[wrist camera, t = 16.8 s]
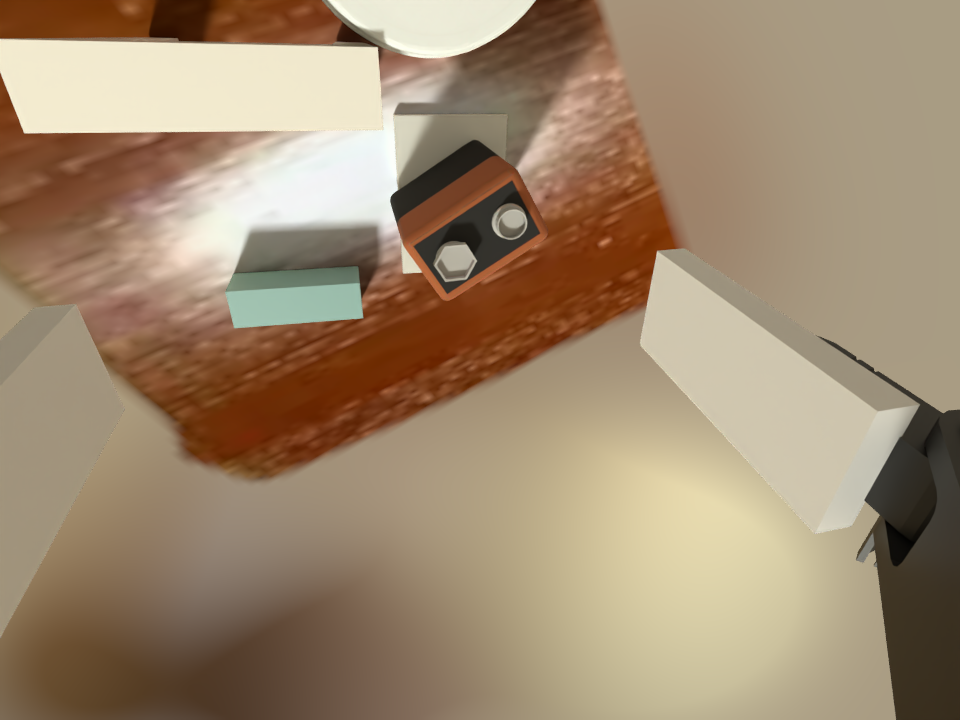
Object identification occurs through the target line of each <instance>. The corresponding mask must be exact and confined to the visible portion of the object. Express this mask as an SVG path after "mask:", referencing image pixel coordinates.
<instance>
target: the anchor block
mask: <svg viewBox="0 0 960 720" xmlns="http://www.w3.org/2000/svg"><path fill="white" fill-rule="evenodd" d="M226 296H227V300H228V304H229V308H230V312H231V316H232V320H233V324H234V328H243V327H256V326H269V325H281V324H294V323H307V322H320V321H333V320H346V319H358V318H363V311H362V298H361V289H360V279H359V269H358V266H351V267H334V268H317V269H300V270H283V271H266V272H249V273H234V274H233V276H232V278H231V281H230V283H229V285H228V287H227V289H226Z"/></svg>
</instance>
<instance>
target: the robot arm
mask: <svg viewBox="0 0 960 720" xmlns="http://www.w3.org/2000/svg"><path fill="white" fill-rule="evenodd" d="M640 346H641V347H642V348H643V349H644V350H645V351H646V352H647V353H648V354H649V355H650V356H651V358H653V360H654V361H655V362H656V363H657V364H658V365H659V366H660V367H661V368H662V369H663V370H664V372H665V373H666V374H667V375H668V376H669V377H670V378H671V379H672V380H673V381H674V382H675V383H676V384H677V385H678V387H679V388H680V389H681V390H682V391H683V392H684V393H685V394H686V395H687V396H688V398H689V399H691V401H692V402H693V403H694V404H695V405H696V406H697V407H698V408H699V409H700V410H701V412H702V413H703V414H704V415H705V416H706V417H707V418H708V419H709V420H710V421H711V422H712V423H713V425H714V426H715V427H716V428H717V429H718V430H719V431H720V432H721V433H722V434H723V435H724V436H725V438H726V439H727V440H728V441H729V442H730V443H731V444H732V445H733V446H734V447H735V448H736V449H737V451H739V453H740V454H741V455H742V456H743V457H744V458H745V459H746V460H747V461H748V462H749V463H750V465H751V466H752V467H753V468H754V469H755V470H756V471H757V472H758V473H759V474H760V475H761V476H762V478H763V479H764V480H765V481H766V482H767V483H768V484H769V485H770V486H771V487H772V488H773V489H774V491H775V492H776V493H777V494H778V495H779V496H780V497H781V498H782V499H783V500H784V501H785V502H786V503H787V505H788V506H789V507H790V508H791V509H792V510H793V511H794V512H795V513H796V514H797V515H798V516H799V518H801V520H802V521H803V522H804V523H805V524H806V525H807V526H808V527H809V528H810V529H811V531H812V532H813V533H814V534H817V533H821V532H826V531H831V530H835V529H840V528H845V527H850V526H852V524H853V522H854V520H855V519H856V517H857V515H858V513H859V512H860V509H861V508H862V506H863V504H864V503H865V501H866V502H867V503H868V504H869V505H870V506H871V507H872V508H873V509H875V511H876V512H878V513H879V514H880V516H879V518H878V519H877V521H876V523H875V524H874V526H873V528H872V529H871V531H870V533H869V534H868V536H867V538H866V540H865V541H864V543H863V544H862V546H861V548H860V549H859V551H858V554H857V558H856V560H857V561H860V562H864V561H865V559H866V557H867V556H868V554H869V553H870V552H872V551H874V550H875V553H876V562H875V564H874V566H875V567H877V569H878V577H879V585H880V593H881V601H882V609H883V617H884V624H885V633H886V641H887V649H888V657H889V665H890V673H891V681H892V689H893V697H894V705H895V712H896V720H960V410H951V411H950V410H949V411H947V412H945V413H941V412H940V411H938V410H937V409H935V408H934V407H932V406H931V405H929V404H928V403H926V402H924V401H923V400H922V399H920V398H918V397H917V396H915V395H914V394H912V393H911V392H909V391H908V390H906V389H904V388H903V387H902V386H900V385H898V384H897V383H895V382H894V381H892V380H891V379H889V378H888V377H886V376H885V375H883V374H882V373H880V372H875V371H874V368H873V367H871V366H869V365H868V364H866V363H865V362H863V361H862V360H857V359H856V356H854V355H853V354H851V353H850V352H848V351H846V350H845V349H843V348H842V347H840V346H839V345H837V344H835V343H834V342H831V341H829V340H826V339H824V338H822V337H819V336H817V335H814V334H813V333H812V332H810V331H808V330H807V329H805V328H804V327H802V326H801V325H799V324H798V323H796V322H795V321H793V320H792V319H790V318H789V317H787V316H786V315H784V314H783V313H781V312H780V311H778V310H777V309H775V308H774V307H772V306H771V305H769V304H768V303H766V302H765V301H763V300H762V299H760V298H759V297H757V296H756V295H754V294H753V293H751V292H750V291H748V290H747V289H745V288H744V287H742V286H741V285H739V284H738V283H736V282H735V281H733V280H732V279H730V278H729V277H727V276H726V275H724V274H723V273H721V272H720V271H718V270H717V269H715V268H714V267H712V266H710V265H709V264H707V263H706V262H704V261H703V260H701V259H700V258H698V257H697V256H695V255H694V254H692V253H691V252H689V251H688V250H686V249H674V250H663V251H657V256H656V261H655V266H654V271H653V277H652V282H651V287H650V293H649V298H648V303H647V308H646V314H645V320H644V324H643V330H642V335H641V340H640ZM124 410H125V409H124V407H123V405H122V402H121V400H120V398H119V396H118V394H117V391H116V389H115V387H114V385H113V383H112V381H111V379H110V376H109V374H108V372H107V370H106V368H105V366H104V363H103V361H102V359H101V357H100V355H99V353H98V351H97V348H96V346H95V344H94V342H93V340H92V338H91V336H90V333H89V331H88V329H87V327H86V325H85V323H84V320H83V318H82V316H81V314H80V312H79V310H78V308H77V305H76V304H70V305H59V306H48V307H37V308H33V309H32V310H31V311H30V312H29V313H28V314H27V315H26V316H25V317H24V318H23V319H22V320H20V321H19V322H18V323H17V324H16V325H15V326H14V327H13V328H12V329H11V330H10V331H9V332H8V333H7V334H6V335H5V336H4V337H3V338H2V339H1V340H0V637H1V635H2V634H3V632H4V630H5V628H6V626H7V624H8V623H9V621H10V619H11V617H12V615H13V613H14V612H15V610H16V608H17V606H18V604H19V602H20V601H21V599H22V597H23V595H24V593H25V591H26V590H27V588H28V586H29V584H30V582H31V580H32V579H33V577H34V575H35V573H36V571H37V569H38V568H39V566H40V564H41V562H42V560H43V558H44V557H45V555H46V553H47V551H48V549H49V547H50V546H51V544H52V542H53V540H54V538H55V537H56V535H57V533H58V531H59V529H60V527H61V525H62V524H63V522H64V520H65V518H66V516H67V514H68V513H69V511H70V509H71V507H72V505H73V503H74V502H75V500H76V498H77V496H78V494H79V493H80V491H81V489H82V487H83V485H84V483H85V482H86V480H87V478H88V476H89V474H90V472H91V470H92V468H93V467H94V465H95V463H96V461H97V460H98V458H99V456H100V454H101V452H102V450H103V449H104V446H105V445H106V443H107V441H108V439H109V438H110V436H111V434H112V432H113V430H114V428H115V427H116V425H117V423H118V421H119V419H120V417H121V416H122V414H123V412H124Z"/></svg>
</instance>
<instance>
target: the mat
mask: <svg viewBox="0 0 960 720" xmlns="http://www.w3.org/2000/svg"><path fill="white" fill-rule="evenodd" d="M393 115H394V132H395V149H396V167H397V184H398V190H399V189H401V188H402V187H404V186H405V185H407V184H408V183H410V182H411V181H412V180H414V179H415V178H417V177H418V176H420V175H421V174H423V173H424V172H426V171H427V170H429V169H430V168H432V167H433V166H434V165H436V164H437V163H439V162H440V161H442V160H443V159H445V158H446V157H448V156H449V155H451V154H452V153H453V152H455V151H456V150H458V149H459V148H461V147H462V146H464V145H465V144H467V143H468V142H470V141H472V140H478V141H480V142H481V143H483V144H484V145H485V146H487V147H488V148H489V149H491V150H492V151H493V152H494V153H496V154H497V155H498V156H500V157H501V158H502V159H504V160H505V161H506V145H507V123H508V115H506V114H393ZM401 254H402V270H403V273H419V272H422V271H421V270H420V268H419V267H418V266H417V264H416V263H415V261H414V260H413V259H412V257H411V256H410V255H409V253H408V252H407V250H406V249H405V247H404V246H403V243H402V240H401Z"/></svg>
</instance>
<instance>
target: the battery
mask: <svg viewBox="0 0 960 720" xmlns="http://www.w3.org/2000/svg"><path fill="white" fill-rule="evenodd" d="M390 202H391V206H392V209H393V213H394V216H395V219H396V223H397V226H398V230H399V233H400V236H401V240H402V243H403V246H404V247H405V249H406V250H407V252H408V253H409V255H410V256H411V257H412V259H413V260H414V261H415V263H416V264H417V266H418V267H419V268H420V270H421V271H422V273H423V274H424V275H425V277H426V278H427V280H428V281H429V282H430V284H431V285H432V286H433V288H434V289H435V291H436V292H437V293H438V295H439V296H440V297H441V298H442V299H443V300H446V301H448V300H452V299H453V298H455V297H457V296H458V295H460V294H461V293H463V292H464V291H466V290H467V289H469V288H471V287H472V286H474V285H475V284H477V283H478V282H480V281H481V280H483V279H484V278H486V277H488V276H489V275H491V274H492V273H494V272H495V271H497V270H498V269H500V268H501V267H503V266H504V265H506V264H508V263H509V262H511V261H512V260H514V259H515V258H517V257H518V256H520V255H521V254H523V253H525V252H526V251H528V250H529V249H531V248H532V247H534V246H535V245H537V244H538V243H540V242H541V241H543V240H544V239H545V238H546V237H547V235H548V228H547V226H546V224H545V222H544V220H543V218H542V216H541V215H540V213H539V211H538V209H537V207H536V205H535V203H534V201H533V199H532V197H531V195H530V193H529V192H528V190H527V188H526V186H525V184H524V182H523V180H522V178H521V176H520V174H519V173H518V171H517V170H516V169H515V168H514V167H513V166H511V165H510V164H509V163H508V162H506V161H505V160H504V159H502V158H501V157H500V156H498V155H497V154H496V153H494V152H493V151H492V150H491V149H489V148H488V147H487V146H485V145H484V144H483V143H481V142H480V141H478V140H472V141H470V142H468V143H467V144H465V145H464V146H462V147H461V148H459V149H458V150H456V151H455V152H453V153H452V154H451V155H449V156H448V157H446V158H445V159H443V160H442V161H440V162H439V163H437V164H436V165H434V166H433V167H432V168H430V169H429V170H427V171H426V172H424V173H423V174H421V175H420V176H418V177H417V178H415V179H414V180H412V181H411V182H410V183H408V184H407V185H405V186H404V187H402V188H401V189H399V190H398V191H396V192H395V193H394V194H393V195H392V196H391V199H390Z"/></svg>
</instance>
